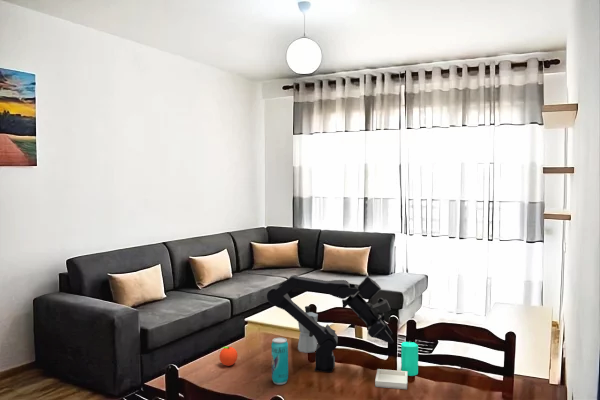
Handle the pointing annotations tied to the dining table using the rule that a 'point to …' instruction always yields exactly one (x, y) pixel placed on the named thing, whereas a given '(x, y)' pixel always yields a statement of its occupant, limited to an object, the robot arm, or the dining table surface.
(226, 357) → the clementine
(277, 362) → the beverage can
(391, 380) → the tray
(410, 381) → the dining table surface
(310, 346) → the coffee maker
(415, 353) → the candle
